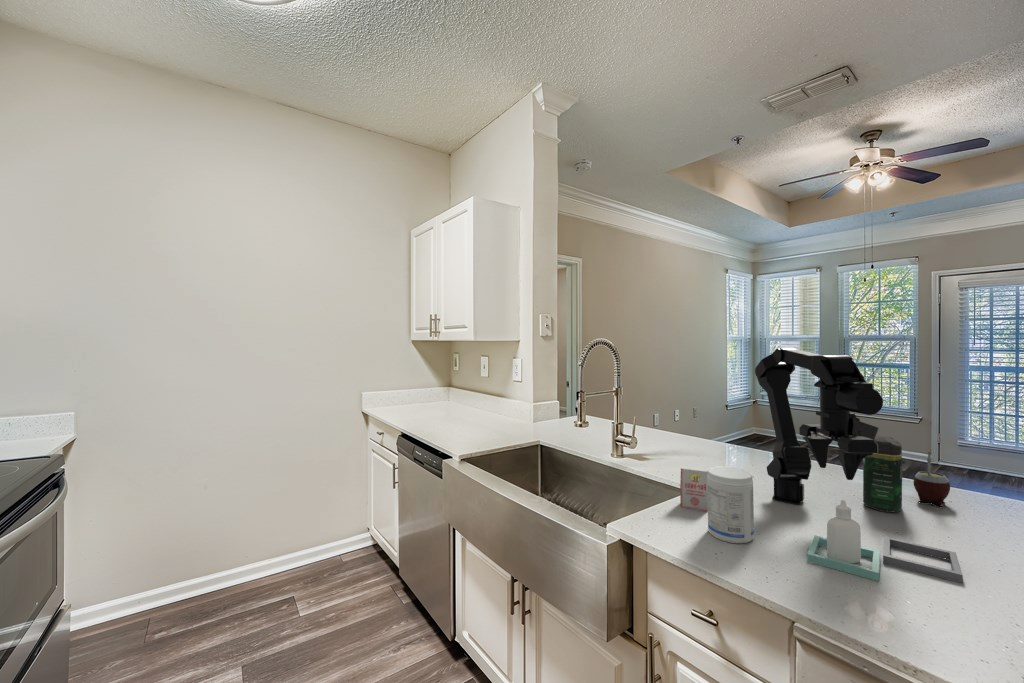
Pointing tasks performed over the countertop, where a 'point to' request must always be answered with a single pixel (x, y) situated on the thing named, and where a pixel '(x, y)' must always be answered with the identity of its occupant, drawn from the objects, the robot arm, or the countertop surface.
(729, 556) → the countertop surface
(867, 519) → the countertop surface
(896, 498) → the coffee jar
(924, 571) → the upper socket
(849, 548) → the eye dropper bottle
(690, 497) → the white red printed box
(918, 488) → the mate gourd
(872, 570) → the lower socket
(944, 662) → the countertop surface
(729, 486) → the supplement tub
